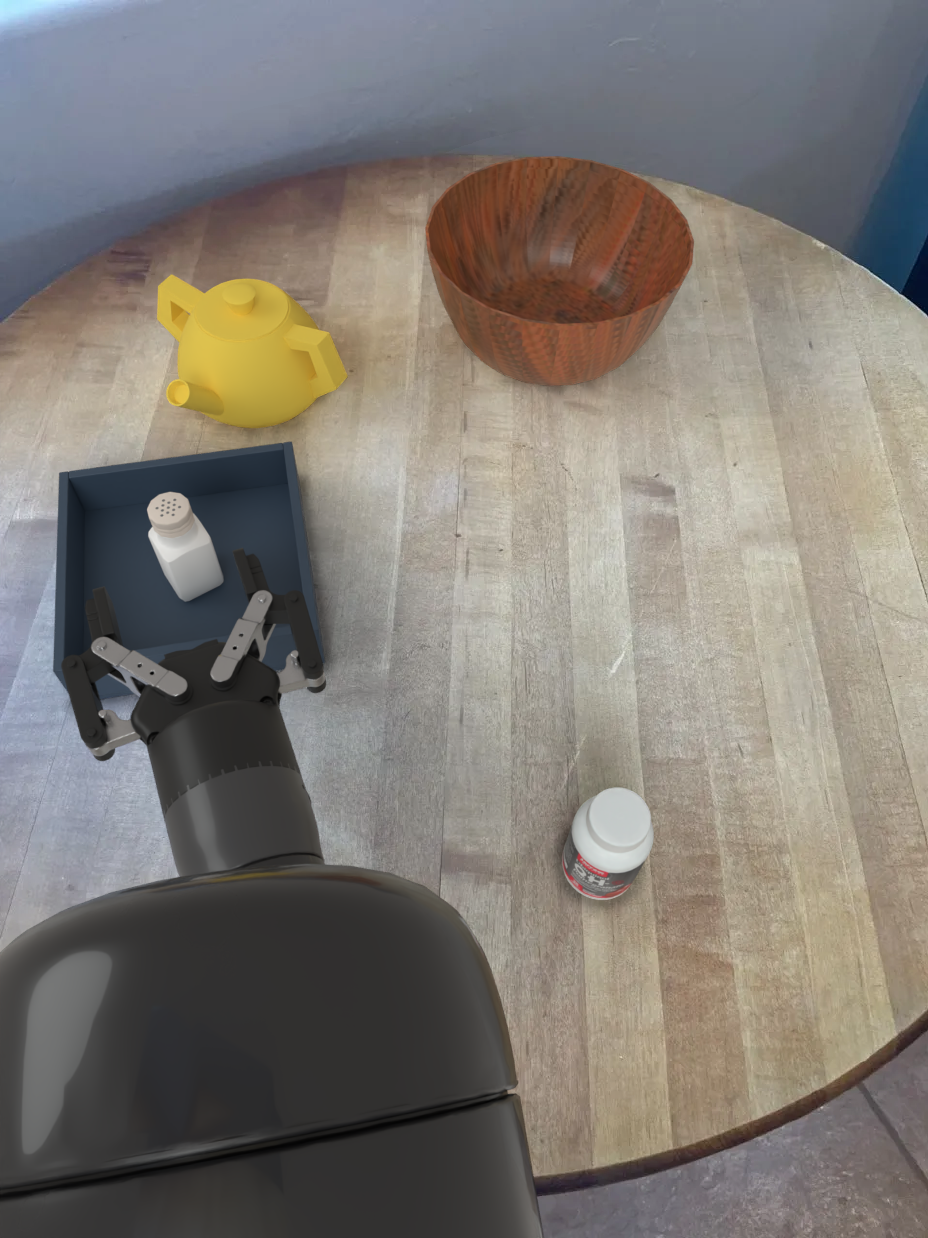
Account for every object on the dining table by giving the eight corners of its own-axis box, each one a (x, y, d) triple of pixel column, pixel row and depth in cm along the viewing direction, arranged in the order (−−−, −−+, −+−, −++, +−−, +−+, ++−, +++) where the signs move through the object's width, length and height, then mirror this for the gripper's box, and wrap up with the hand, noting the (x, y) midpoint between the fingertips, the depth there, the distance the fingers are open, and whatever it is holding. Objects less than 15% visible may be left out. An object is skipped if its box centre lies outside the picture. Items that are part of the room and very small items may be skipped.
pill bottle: (561, 900, 68) (578, 854, 59) (560, 827, 70) (576, 773, 62) (638, 904, 68) (666, 858, 59) (634, 830, 70) (659, 777, 62)
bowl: (376, 323, 99) (369, 225, 89) (547, 224, 108) (558, 126, 99) (547, 461, 89) (560, 368, 80) (719, 340, 99) (750, 243, 89)
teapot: (104, 426, 91) (65, 334, 81) (212, 309, 100) (189, 214, 90) (287, 499, 86) (269, 411, 77) (383, 370, 95) (377, 278, 86)
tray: (74, 703, 75) (52, 671, 71) (77, 510, 85) (58, 471, 81) (325, 663, 77) (318, 629, 73) (299, 479, 88) (291, 441, 83)
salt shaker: (163, 574, 81) (132, 501, 73) (206, 552, 82) (180, 479, 74) (184, 606, 79) (155, 536, 71) (227, 584, 81) (204, 513, 73)
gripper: (359, 734, 50) (275, 506, 58) (81, 827, 47) (32, 572, 55) (366, 790, 56) (290, 577, 64) (122, 875, 53) (73, 640, 61)
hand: (171, 575), depth 60 cm, fingers open, 8 cm apart
